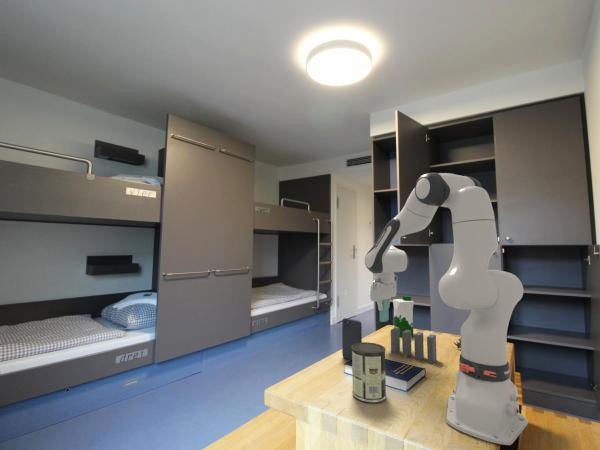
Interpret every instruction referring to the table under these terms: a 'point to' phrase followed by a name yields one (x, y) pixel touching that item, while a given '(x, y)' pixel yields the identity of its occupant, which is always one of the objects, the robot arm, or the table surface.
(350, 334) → the phone case
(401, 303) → the milk carton
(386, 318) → the domino
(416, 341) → the domino
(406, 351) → the domino
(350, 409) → the table surface
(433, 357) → the domino
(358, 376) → the coffee can
